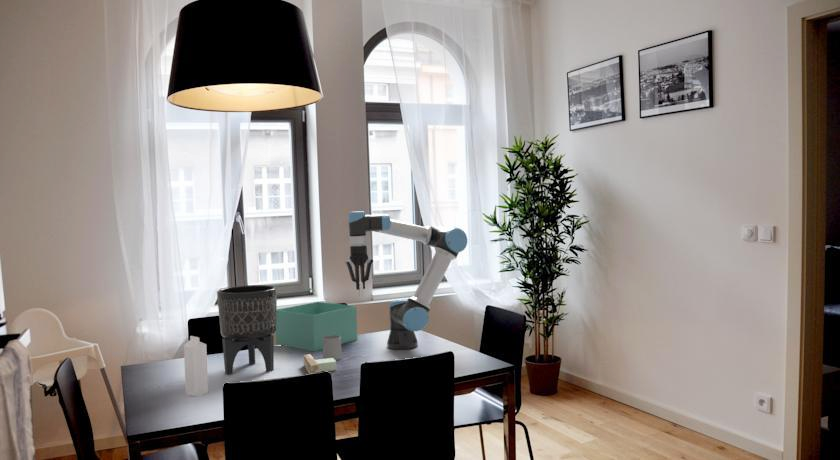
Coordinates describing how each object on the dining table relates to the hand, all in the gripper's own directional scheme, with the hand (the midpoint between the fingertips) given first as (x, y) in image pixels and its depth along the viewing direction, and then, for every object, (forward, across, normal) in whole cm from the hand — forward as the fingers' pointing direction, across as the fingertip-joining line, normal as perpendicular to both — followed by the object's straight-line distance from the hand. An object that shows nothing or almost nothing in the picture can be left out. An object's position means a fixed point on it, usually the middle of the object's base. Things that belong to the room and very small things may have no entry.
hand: (361, 296), depth 281 cm
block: (+29, +21, +10) cm, 37 cm away
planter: (+28, +50, -6) cm, 58 cm away
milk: (+27, +73, +21) cm, 81 cm away
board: (+28, +27, +10) cm, 40 cm away
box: (+29, +12, -45) cm, 55 cm away
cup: (+29, +13, -7) cm, 32 cm away
